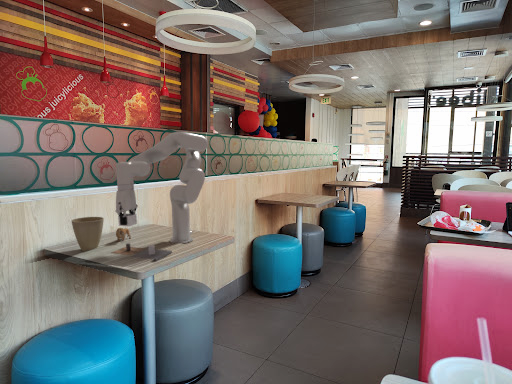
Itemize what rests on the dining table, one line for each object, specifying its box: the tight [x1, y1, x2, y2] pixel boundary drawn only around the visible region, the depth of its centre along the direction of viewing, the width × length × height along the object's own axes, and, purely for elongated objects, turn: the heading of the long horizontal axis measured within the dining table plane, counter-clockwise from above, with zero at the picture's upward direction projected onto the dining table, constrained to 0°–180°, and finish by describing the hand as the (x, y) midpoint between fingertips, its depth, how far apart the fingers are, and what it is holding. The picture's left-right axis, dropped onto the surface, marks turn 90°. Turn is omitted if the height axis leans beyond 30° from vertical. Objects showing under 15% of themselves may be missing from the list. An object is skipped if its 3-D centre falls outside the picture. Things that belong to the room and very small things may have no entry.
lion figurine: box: [115, 227, 132, 242], centre depth 194 cm, size 15×5×9 cm, turn 4°
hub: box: [130, 244, 173, 262], centre depth 167 cm, size 14×14×5 cm
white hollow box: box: [117, 213, 138, 227], centre depth 171 cm, size 6×6×5 cm
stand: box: [111, 242, 147, 256], centre depth 172 cm, size 12×12×4 cm
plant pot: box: [71, 216, 105, 252], centre depth 178 cm, size 15×15×16 cm
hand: (127, 223), depth 171 cm, fingers closed on white hollow box, 6 cm apart
